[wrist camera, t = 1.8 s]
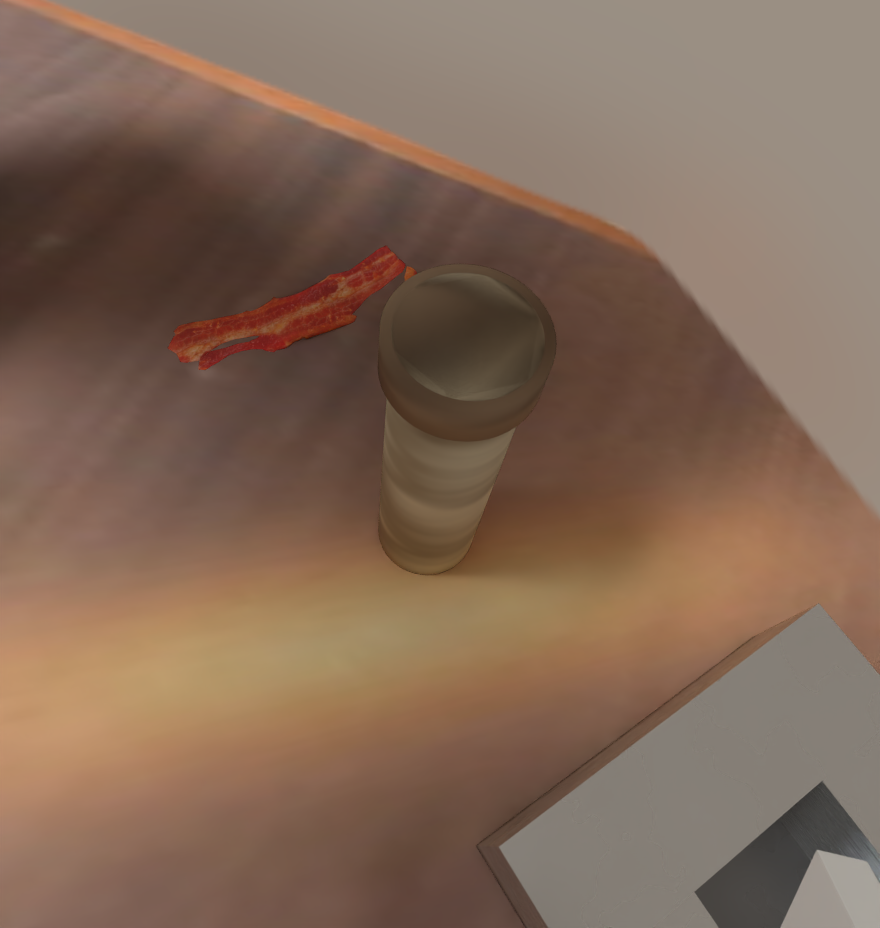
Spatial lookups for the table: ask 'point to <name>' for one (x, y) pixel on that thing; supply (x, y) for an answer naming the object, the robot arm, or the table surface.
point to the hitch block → (711, 796)
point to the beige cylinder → (453, 403)
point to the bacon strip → (290, 313)
